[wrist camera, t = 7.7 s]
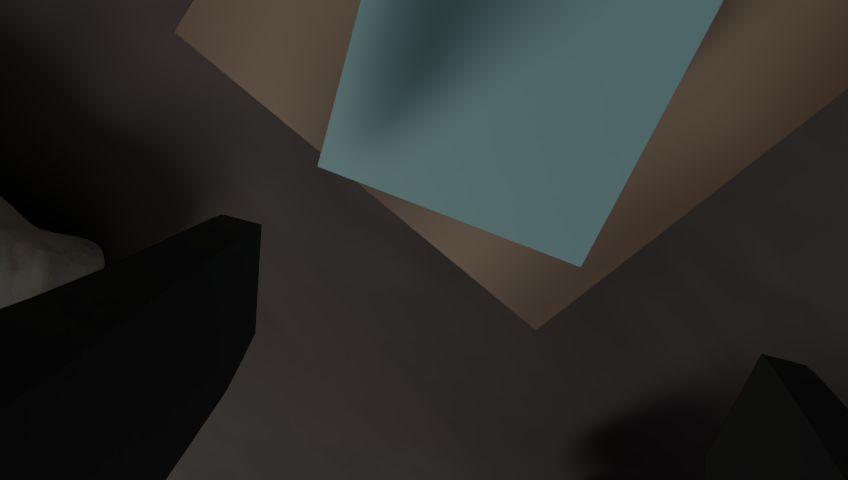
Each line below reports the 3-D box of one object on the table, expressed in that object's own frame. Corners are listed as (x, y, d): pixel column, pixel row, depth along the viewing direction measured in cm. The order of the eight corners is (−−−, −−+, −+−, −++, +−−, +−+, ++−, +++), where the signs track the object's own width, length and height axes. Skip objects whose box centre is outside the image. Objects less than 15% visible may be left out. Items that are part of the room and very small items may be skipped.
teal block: (689, -61, 14) (727, -7, 10) (584, 155, 17) (580, 267, 13) (453, -150, 15) (395, -134, 10) (385, 79, 17) (317, 166, 13)
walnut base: (925, -34, 16) (975, -10, 14) (541, 280, 22) (535, 330, 20) (525, -476, 14) (512, -528, 12) (219, 8, 20) (174, 31, 18)
